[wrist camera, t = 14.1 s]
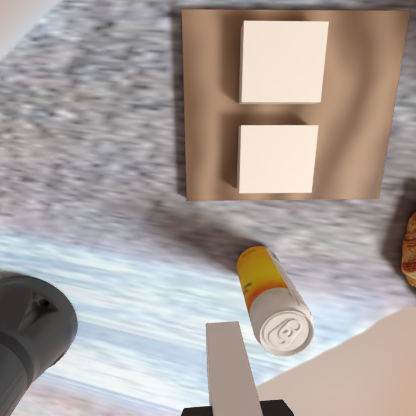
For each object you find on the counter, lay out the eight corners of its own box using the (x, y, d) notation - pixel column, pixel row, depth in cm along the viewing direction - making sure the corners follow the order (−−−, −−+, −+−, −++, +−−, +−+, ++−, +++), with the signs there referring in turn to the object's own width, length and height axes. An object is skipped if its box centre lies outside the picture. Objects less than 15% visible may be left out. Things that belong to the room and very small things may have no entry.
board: (187, 198, 38) (186, 200, 36) (182, 14, 32) (181, 9, 31) (372, 196, 39) (379, 198, 37) (401, 16, 33) (410, 10, 31)
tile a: (311, 104, 34) (238, 104, 33) (318, 30, 32) (240, 29, 31) (320, 102, 31) (241, 102, 31) (328, 21, 29) (244, 20, 29)
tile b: (304, 188, 36) (236, 188, 36) (309, 125, 34) (238, 125, 34) (311, 192, 34) (239, 193, 34) (318, 125, 32) (241, 125, 32)
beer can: (227, 265, 41) (242, 338, 26) (254, 235, 40) (285, 295, 25) (257, 288, 42) (287, 370, 28) (284, 259, 41) (331, 329, 26)
